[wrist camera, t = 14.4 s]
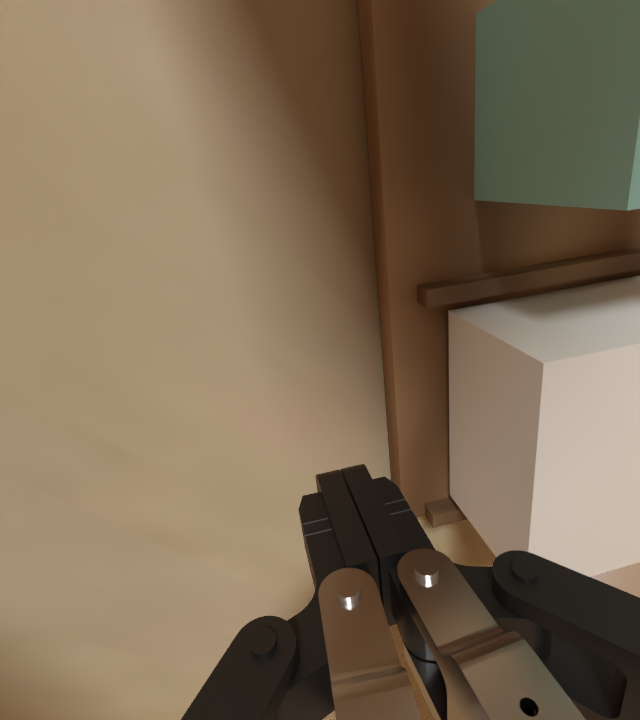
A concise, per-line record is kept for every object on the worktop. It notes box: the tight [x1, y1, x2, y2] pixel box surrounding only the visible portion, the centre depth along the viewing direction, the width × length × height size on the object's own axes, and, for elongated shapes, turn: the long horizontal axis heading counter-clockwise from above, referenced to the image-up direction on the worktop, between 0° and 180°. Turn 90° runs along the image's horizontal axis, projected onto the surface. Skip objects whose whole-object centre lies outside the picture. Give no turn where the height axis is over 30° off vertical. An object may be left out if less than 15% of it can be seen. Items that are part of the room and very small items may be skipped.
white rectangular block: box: [448, 275, 640, 577], centre depth 15 cm, size 9×8×5 cm
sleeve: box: [474, 0, 640, 211], centre depth 11 cm, size 5×5×6 cm
